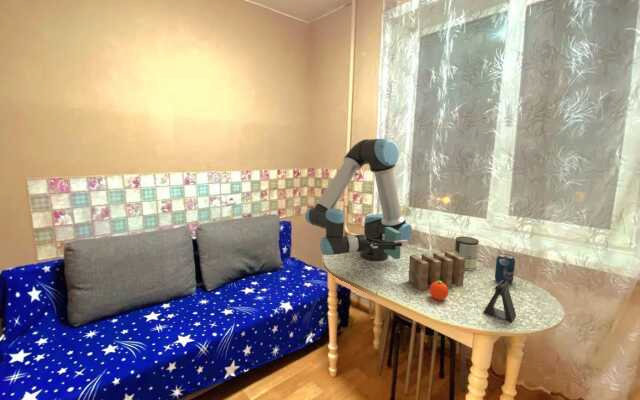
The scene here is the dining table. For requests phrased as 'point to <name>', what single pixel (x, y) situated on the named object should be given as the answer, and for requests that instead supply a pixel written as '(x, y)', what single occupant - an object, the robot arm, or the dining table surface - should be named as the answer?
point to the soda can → (505, 268)
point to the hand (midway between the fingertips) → (400, 239)
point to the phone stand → (507, 303)
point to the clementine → (438, 290)
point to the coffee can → (467, 251)
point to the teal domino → (392, 236)
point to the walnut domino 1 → (418, 272)
